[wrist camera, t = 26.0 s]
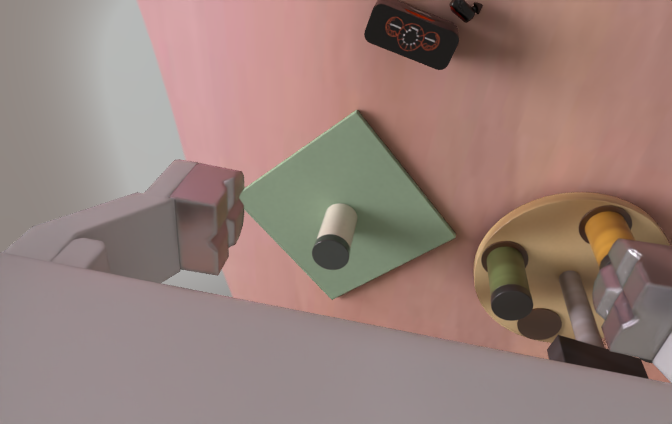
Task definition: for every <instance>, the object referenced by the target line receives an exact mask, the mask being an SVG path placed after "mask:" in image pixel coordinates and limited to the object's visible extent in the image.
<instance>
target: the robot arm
mask: <svg viewBox="0 0 672 424" xmlns="http://www.w3.org/2000/svg"><path fill="white" fill-rule="evenodd" d="M243 190H244V175H243V173H242V171H238V170H233V169H227V168H222V167H217V166H212V165H207V164H202V163H198V162H192V161H186V160H174V161H173V162H172V163H171V164H170V165H169V167H168V168H167V169H166V170H165V171H164V172H163V173H162V174H161V175H160V176H159V177H158V178H157V179H156V181H155V182H154V183H153V184H152V185H151V186H150V187H149V188H148V189H147V190H146V191H145V192H144V193H138V192H137V193H134V194H131V195H127V196H124V197H121V198H118V199H115V200H112V201H109V202H106V203H103V204H100V205H97V206H94V207H91V208H88V209H85V210H81V211H78V212H75V213H72V214H69V215H66V216H63V217H60V218H57V219H54V220H50V221H47V222H44V223H41V224H38V225H35V226H32V227H31V228H30V229H29V230H28V231H27V232H26V233H24V234H23V235H22V236H21V237H20V238H19V239H17V240H16V241H15V242H14V243H13V244H12V245H11V246H9V247H8V248H7V249H6V250H5V251H4V252H0V424H672V246H668V245H661V244H655V243H648V242H642V241H635V240H628V239H621V238H618V239H617V240H616V241H615V242H614V243H613V245H612V247H611V248H610V250H609V252H608V255H609V258H610V261H611V263H610V264H609V265H607V266H605V267H603V268H602V269H600V270H599V272H598V275H597V277H596V279H595V281H594V286H593V292H592V298H593V305H594V308H595V311H596V313H598V314H599V315H600V316H601V317H602V318H603V319H604V320H605V321H604V323H603V324H602V326H601V329H602V331H603V334H604V337H605V340H606V343H607V345H608V348H609V351H611V352H616V353H621V354H625V355H630V356H634V357H639V358H643V359H648V360H653V361H652V363H653V364H654V365H655V366H656V367H657V368H658V369H659V370H660V371H661V372H662V373H663V374H664V376H665V377H666V378H667V379H668V380H669V381H670V382H671V383H667V382H661V381H656V380H651V379H646V378H641V377H636V376H631V375H626V374H621V373H615V372H610V371H605V370H600V369H595V368H590V367H585V366H580V365H575V364H569V363H564V362H559V361H554V360H549V359H544V358H539V357H534V356H529V355H523V354H518V353H513V352H508V351H503V350H498V349H493V348H488V347H483V346H477V345H472V344H467V343H462V342H457V341H452V340H447V339H442V338H437V337H432V336H426V335H421V334H416V333H411V332H406V331H401V330H396V329H391V328H386V327H381V326H375V325H370V324H365V323H360V322H355V321H350V320H345V319H340V318H335V317H330V316H324V315H319V314H314V313H309V312H304V311H299V310H294V309H289V308H284V307H278V306H273V305H268V304H263V303H258V302H253V301H248V300H243V299H238V298H233V297H227V296H222V295H217V294H212V293H207V292H202V291H197V290H192V289H187V288H182V287H176V286H171V285H166V284H161V283H162V282H163V281H165V280H167V279H168V278H170V277H172V276H173V275H175V274H176V273H178V272H180V269H182V270H187V271H194V272H200V273H206V274H212V275H219V273H220V271H221V269H222V267H223V266H224V264H225V262H226V260H227V259H228V257H229V252H228V248H229V247H231V246H233V245H235V244H236V242H237V240H238V238H239V236H240V233H241V229H242V226H243V219H244V204H243V203H242V202H241V200H240V199H239V197H240V195H241V193H242V192H243Z"/></svg>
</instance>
